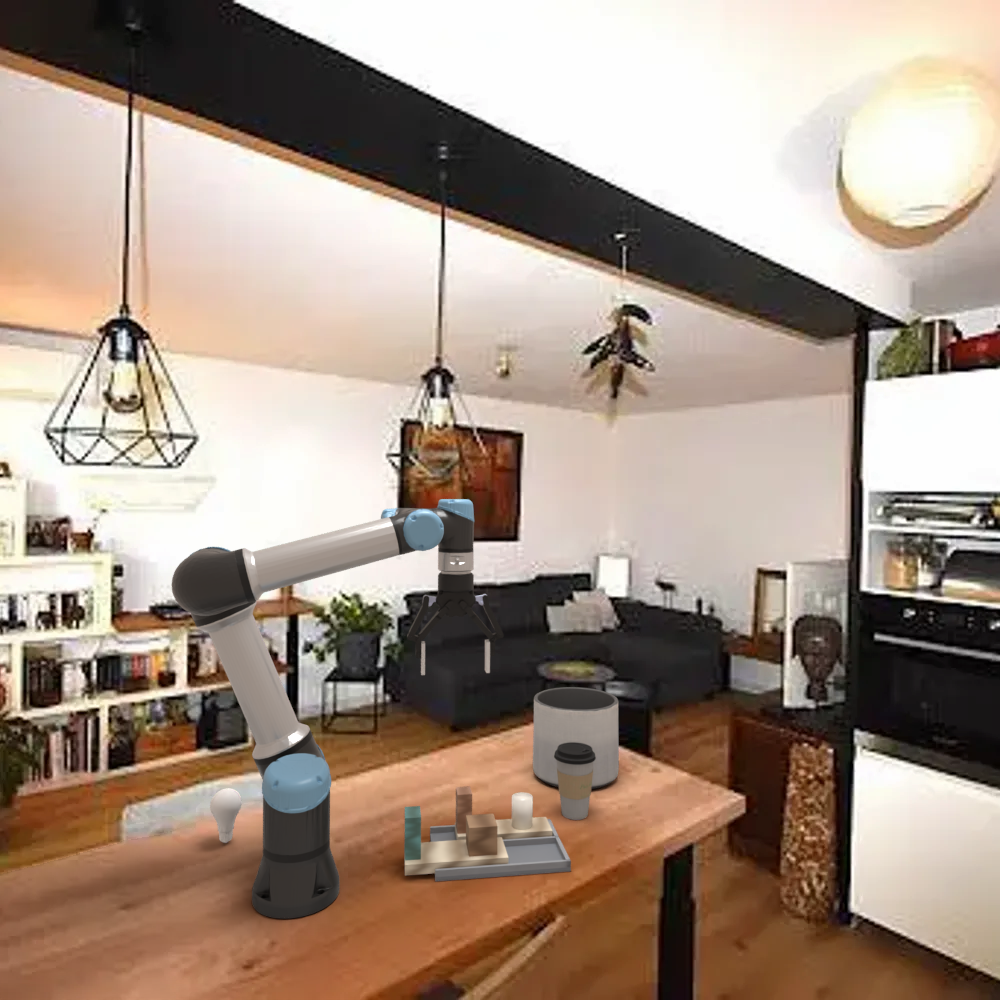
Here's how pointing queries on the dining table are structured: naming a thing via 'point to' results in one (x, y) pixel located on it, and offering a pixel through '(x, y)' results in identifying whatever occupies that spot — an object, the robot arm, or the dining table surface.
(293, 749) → the robot arm
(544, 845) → the lane board
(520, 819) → the stoneware cylinder
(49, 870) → the dining table surface
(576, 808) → the coffee cup
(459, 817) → the strip
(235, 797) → the lightbulb
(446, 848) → the strip
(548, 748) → the planter
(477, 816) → the walnut cube
